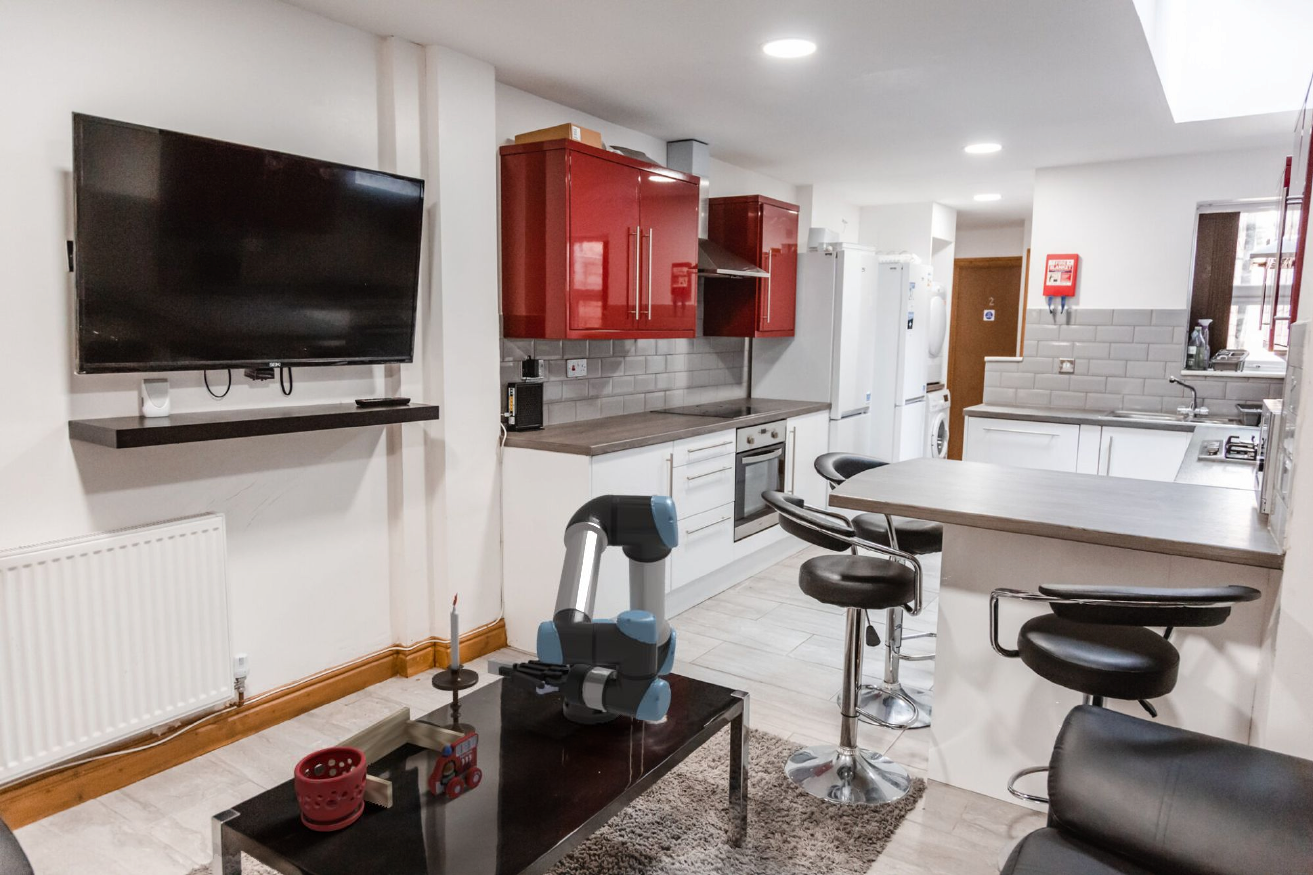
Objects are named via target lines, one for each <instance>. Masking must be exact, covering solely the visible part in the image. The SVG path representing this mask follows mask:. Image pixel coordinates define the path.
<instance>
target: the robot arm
mask: <svg viewBox="0 0 1313 875" xmlns="http://www.w3.org/2000/svg"><path fill="white" fill-rule="evenodd" d="M675 503H676V502H675V501H674V499H673V498H672V497H670V496H666V495H657V494H652V495H639V494H638V495H635V494H633V495H630V494H604V495H600V496H597V497H594V498H592V499H590V500H588V501H587V502H585V503H584V504H583V505H581V506H580V507H579V508H578V509H577V510H576V511H575V512H574V514H573V515H572V516H571V517H570V519H569V521H568V522H567V525H566V527H565V531H564V535H563V543H564V547H565V555H564V560H563V564H562V569H561V575H560V580H559V585H558V591H557V595H556V599H555V600H556V601H555V606H554V611H553V617H552V620H548V621H542V622H541V623H540V624H539V626H538V628H537V635H536V655H537V658H538V660H535V659H529V660H528V661H527V662H516V661H510V660H505V659H499V658H496V657H491V658H488V659H487V674H491V675H496V676H499V677H503V678H509V684H510V685H511V686H513V687H516V688H519V689H521V690H523V691H526V692H529V693H532V694H534V695H535V696H537V697H538V699H543V698H545V694H547V693H551V694H554V695H563V696H564V702H563V715H564V718H566V717H567V718H566V719H568V720H569V721H572V722H573V721H574V723H576V722H577V724H581V723H585V724H584V725H597V724H596V723H602V724H605V723H604V722H607V721H610V720H612V719H614V718H616V717H618V716H619V715H620V714H621V715H620V716H624V717H625V716H626V717H629V718H634V719H636V720H640V721H641V720H643V721H649V722H659V721H661V720H662V719H663V718H664V717H666V715H667V712H668V709H669V707H670V705H671V704H670V703H671V696H672V694H671V693H672V692H671V691H672V690H671V688H670V684H669V682H668V681H667V680H664V679H662V678H659V677H658V676H665V675H669V674H670V673H671V672H672V670H673V667H674V662H675V657H676V656H675V655H676V654H675V653H676V646H677V631H676V630H675V629H674V628H672V627H671V626H670V623H669V622H668V621H667V619H665V617H666V616H665V614H666V610H665V608H666V606H665V605H666V603H665V602H666V598H665V597H666V559H667V558H668V557H669V556H670V555H671V553H672V550H673V549H674V548H678V545H679V525H678V514H677V508H676V504H675ZM607 547H620V548H621V550H622V553H623V555H624V556H625V557H626V558H627V559H628V576H629V577H628V578H629V579H628V582H629V584H628V587H629V590H628V591H629V610H624V611H622V612H620V613H619V614H618V615H617V618H616V621H615V620H613V619H608V618H596V619H594V612H595V605H596V604H595V603H596V595H597V590H598V582H599V575H600V574H599V572H600V566H601V561H602V560H601V559H602V554H603V553H604V552H605V550H606V549H607ZM618 718H619V717H618ZM610 722H611V721H610ZM607 723H608V722H607Z"/></svg>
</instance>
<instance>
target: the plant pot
mask: <svg viewBox="0 0 1313 875" xmlns="http://www.w3.org/2000/svg"><path fill="white" fill-rule="evenodd" d="M348 759H351V761H352V762H351V763H349V762H348ZM329 760H335V764H334V765H329V764H328V761H329ZM341 762H343V763H344V766H340V763H341ZM319 765H321V766H322V765H323V768H324V769H323V771H322V773H319V774H316V773H315V770H316V768H317V766H319ZM352 767H356V768H355V769H354V770H352V771H351V768H352ZM367 767H368V766H367ZM367 767H366V757H365V755H364V753H363V752H362V751H360V750H359V749H356V748H353V747H343V746H341V747H334V746H332V747H326V748H321V749H319V750H316V751H313V752H312V753H309V754H308V755H306V756H305V757H302V758H301V760H299V762H297V763H296V765H295V767H294V768H293V769H294V770H293V779H294V789H295V795H296V798H297V801H298V804H299V807H300V809H301V812H300V813H301V815H300V818H301V822H302V823H303V824H304V826H306V827H307V828H308V829H310V830H312V831H317V832H332V831H337V830H341V829H343V828H346V827H347V826H350V825H351V824H352V823H355V821H357V819H359V817H360V816H361V815H362V814H363V811H364V808H365V801H364V800H363V799H362V797H363V794H364V791H365V786H366V777H367V775H368V774H367V771H368V770H367ZM331 769H335V770H336V774H335V775H330V770H331ZM307 771H308V773H307ZM343 772H346V773H347V774H344V775H343ZM306 773H307V774H306ZM366 774H367V775H366Z"/></svg>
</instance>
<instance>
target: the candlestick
mask: <svg viewBox="0 0 1313 875" xmlns="http://www.w3.org/2000/svg"><path fill="white" fill-rule="evenodd" d="M457 600H458V593H456V594H455V595H454V599H453V601H452V611H450V617H449V618H450V664H448V665H447V666H446V670H442V671H440V672H437V673H436V674H434V675H433V676H432V677H431V685H432V688H435V689H437V690H439V691H444V692H452V702H451V703H450V704H449V709H450V710H451V711H452V712H451V713H450V718H452V723H450V724H446V725H443V726H442V727H441V728H443V729H447V730H451V731H455V732H458V733H462V734H465V736H466V735H468V734H469V733H471V732H474V733H476V728H475V727H474V726H473V725H472V724H469V723H465V722H460V719H459V718H460V717H461V716H462V713H461V712H460V709H461V707H463V706H462V705H463V703H462V702H460V701H459V691H464V690H467V689H470V688H473V687H474V686H476V685H477V684H478V683H479V673H478V672H477V671H475V670H472V669H468V668H464V667H465V666H464V665H463V664H462V663H460V635H459V634H460V631H459V630H460V629H459V628H460V624H459V623H460V621H459V619H460V618H459V616H460V615H459V614H460V613H459V611H458V610H457V607H456V605H457V602H458V601H457Z"/></svg>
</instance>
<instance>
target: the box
mask: <svg viewBox="0 0 1313 875" xmlns="http://www.w3.org/2000/svg"><path fill="white" fill-rule="evenodd" d="M464 736H465V734H462V733H458V732H455V731H451V730H447V729H443V728H442V727H439V726H435V725H431V724H427V723H423V722H420V721H417V720H412V719H411V708H410V707H409V706H404V707H403V708H401V709H400V710H397V711H395V712H394V713H391V715H388V716H387V717H385V718H383V719H381V720H379V721H377V722H376V723H374V724H372V725H370V726H368V727H367V728H364V729H363V730H361V731H359V732H358V733H356V734H354V735H352V736H350V737H348V738H347V739H345V740H343V741H341V742H339V743H337V744H336V745H334V746H333V747H341V746H343V747H353V748H356V749H359V750H360V751H362V752H363V753H364V755H365V757H366V767H369V766H371V765H372V764H374V763H375V762H378V760H380V759H382V758H384V757H386V756H387V755H388V754H390V753H391V752H393V751H395V750H396V749H398V748H400V747H401V746H403V745H405V744H406V743H409V744H412V745H416V746H419V747H422V748H427V749H430V750H434V751H437V752H440V753H442V749H443V748H444V747H445V746H449V747H450V745H451V744H452V743H453V742H455V741H457V740H459V739H460V738H462V737H464ZM348 762H349V763H351V762H352V761H351V759H348ZM371 763H372V764H371ZM328 764H329V765H334V764H335V760H329V761H328ZM368 765H369V766H368ZM340 766H344V763H343V762H341V763H340ZM355 768H356V767H352V768H351V771H352V770H354V769H355ZM335 774H336V770H335V769H331V770H330V775H335ZM344 774H347V773H346V772H343V775H344ZM366 775H367V777H366V786H365V791H364V794H363V797H362V799H363V801H364V800H365V801H364V802H367V801H370V802H372V803H371V804H373V803H375V804H374V805H376V804H378V805H377V806H380V805H382V806H381V807H383V806H384V807H383V808H386V807H387V808H386V809H389V808H391V807H392V806H393V782H392V781H389V780H387V779H383V778H381V777H377V776H373V775H370V774H368V773H366ZM370 802H369V803H370Z"/></svg>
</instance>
